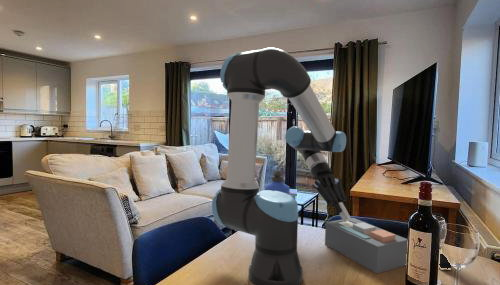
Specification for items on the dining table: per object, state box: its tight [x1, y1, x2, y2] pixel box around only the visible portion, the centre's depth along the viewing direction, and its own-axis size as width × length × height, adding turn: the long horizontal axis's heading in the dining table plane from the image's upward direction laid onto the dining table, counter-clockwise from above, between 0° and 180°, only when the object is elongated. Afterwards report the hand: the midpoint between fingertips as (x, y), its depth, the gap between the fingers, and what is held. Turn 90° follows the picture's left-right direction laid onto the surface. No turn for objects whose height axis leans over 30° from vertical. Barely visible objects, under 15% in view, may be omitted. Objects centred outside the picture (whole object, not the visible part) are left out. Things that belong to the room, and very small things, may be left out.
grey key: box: [353, 221, 377, 237], centre depth 99 cm, size 5×5×3 cm
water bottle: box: [264, 170, 291, 195], centre depth 114 cm, size 9×9×25 cm
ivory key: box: [339, 221, 354, 229], centre depth 106 cm, size 5×5×3 cm
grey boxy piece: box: [324, 217, 407, 274], centre depth 99 cm, size 23×13×8 cm, turn 25°
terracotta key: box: [370, 228, 395, 243], centre depth 92 cm, size 5×5×3 cm
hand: (347, 220), depth 106 cm, fingers closed
